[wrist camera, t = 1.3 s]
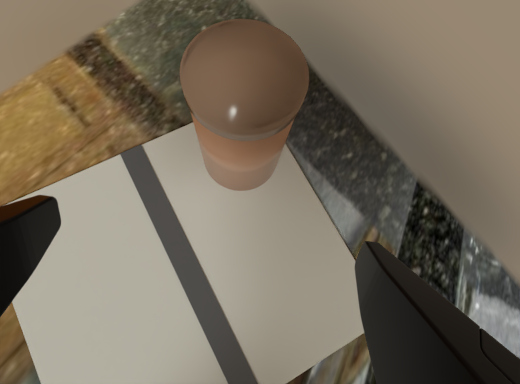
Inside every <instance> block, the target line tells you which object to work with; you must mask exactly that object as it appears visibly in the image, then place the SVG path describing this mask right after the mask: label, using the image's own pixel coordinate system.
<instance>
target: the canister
mask: <svg viewBox="0 0 520 384" xmlns="http://www.w3.org/2000/svg"><path fill="white" fill-rule="evenodd" d="M180 81H181V85H182V89H183V93H184V96H185V100H186V103H187V105H188V107H189V110H190V111H191V115H192V119H193V123H194V126H195V130H196V134H197V138H198V142H199V146H200V149H201V153H202V157H203V161H204V165H205V168H206V170H207V172H208V173H209V175H210V176H211V177H212V179H213V180H214V181H215V182H217V183H218V184H219V185H221V186H223V187H225V188H228V189H231V190H236V191H246V190H251V189H254V188H257V187H259V186H261V185H262V184H264V183H265V182H266V181H267V180H268V179H269V178H270V177H271V176H272V174H273V172H274V171H275V168H276V166H277V163H278V160H279V158H280V155H281V152H282V150H283V147H284V145H285V142H286V139H287V137H288V134H289V132H290V129H291V126H292V124H293V121H294V119H295V117H296V116H297V114H298V112H299V111H300V109H301V106H302V104H303V101H304V99H305V96H306V93H307V90H308V85H309V70H308V65H307V62H306V59H305V57H304V55H303V53H302V51H301V49H300V48H299V46H298V45H297V44H296V43H295V42H294V41H293V40H292V38H291V37H289V36H288V35H287V34H286V33H284V32H283V31H281V30H280V29H278V28H276V27H274V26H272V25H270V24H267V23H265V22H261V21H257V20H251V19H232V20H227V21H222V22H219V23H216V24H214V25H212V26H209V27H208V28H206V29H204V30H203V31H201V32H200V33H199V34H198V35H197V36H196V37H195V38H194V39H193V40H192V41H191V42H190V44H189V45H188V46H187V48H186V50H185V52H184V54H183V57H182V60H181V65H180Z"/></svg>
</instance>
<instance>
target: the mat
mask: <svg viewBox="0 0 520 384" xmlns="http://www.w3.org/2000/svg"><path fill="white" fill-rule="evenodd" d="M37 195H46V196H53V197H55V198H56V199H57V202H58V206H59V212H60V217H61V226H60V229H59V231H58V232H57V234H56V236H55V237H54V239H53V241H52V242H51V244H50V246H49V247H48V249H47V251H46V253H45V254H44V256H43V258H42V259H41V261H40V263H39V264H38V266H37V268H36V269H35V271H34V272H33V274H32V275H31V276H30V278H29V279H28V281H27V282H26V283H25V285H24V286H23V287H22V289H21V290H20V291H19V293H18V294H17V295H16V297H15V298H14V299H13V301H12V303H13V306H14V308H15V311H16V314H17V317H18V320H19V323H20V325H21V328H22V331H23V334H24V337H25V339H26V342H27V345H28V348H29V351H30V354H31V356H32V359H33V362H34V365H35V368H36V370H37V373H38V376H39V379H40V382H41V384H286V383H288V382H289V381H291V380H292V379H294V378H295V377H297V376H298V375H300V374H302V373H303V372H305V371H306V370H308V369H309V368H311V367H312V366H314V365H315V364H317V363H318V362H320V361H321V360H323V359H325V358H326V357H328V356H329V355H331V354H332V353H334V352H335V351H337V350H338V349H340V348H341V347H343V346H344V345H346V344H348V343H349V342H351V341H352V340H354V339H355V338H357V337H358V336H360V335H361V334H363V333H364V329H363V325H362V320H361V316H360V309H359V301H358V293H357V285H356V276H355V262H356V261H355V260H354V258H353V256H352V255H351V253H350V251H349V250H348V248H347V246H346V245H345V243H344V241H343V239H342V238H341V236H340V234H339V233H338V231H337V229H336V228H335V226H334V224H333V223H332V221H331V219H330V218H329V216H328V214H327V213H326V211H325V209H324V208H323V206H322V204H321V202H320V201H319V199H318V197H317V196H316V194H315V192H314V191H313V189H312V187H311V186H310V184H309V182H308V181H307V179H306V177H305V176H304V174H303V172H302V171H301V169H300V167H299V165H298V164H297V162H296V160H295V159H294V157H293V155H292V154H291V152H290V150H289V149H288V147H287V145H286V144H285V145H284V147H283V150H282V152H281V155H280V158H279V160H278V163H277V166H276V168H275V171H274V172H273V174H272V176H271V177H270V178H269V179H268V180H267V181H266V182H265V183H264V184H262V185H261V186H259V187H257V188H254V189H251V190H246V191H236V190H231V189H228V188H225V187H223V186H221V185H219V184H218V183H217V182H215V181H214V180H213V179H212V177H211V176H210V175H209V173H208V172H207V170H206V168H205V165H204V161H203V157H202V153H201V149H200V146H199V142H198V138H197V134H196V130H195V126H194V123H190V124H188V125H186V126H184V127H181V128H179V129H177V130H174V131H172V132H170V133H168V134H165V135H163V136H161V137H158V138H156V139H154V140H152V141H149V142H147V143H145V144H142V145H139V146H136V147H134V148H132V149H129V150H127V151H125V152H123V153H120V155H117V156H115V157H113V158H111V159H108V160H106V161H104V162H101V163H99V164H97V165H95V166H92V167H90V168H88V169H85V170H83V171H81V172H79V173H76V174H74V175H72V176H70V177H67V178H65V179H63V180H60V181H58V182H56V183H54V184H51V185H49V186H47V187H44V188H42V189H40V190H38V191H35V192H33V193H31V194H28V195H26V196H24V197H22V198H19V199H17V200H15V201H13V202H10V203H14V202H17V201H20V200H23V199H27V198H30V197H33V196H37ZM10 203H8V204H10ZM6 205H7V204H6ZM3 206H4V205H3Z"/></svg>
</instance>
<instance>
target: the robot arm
mask: <svg viewBox="0 0 520 384" xmlns="http://www.w3.org/2000/svg"><path fill="white" fill-rule="evenodd" d="M60 226H61V217H60V212H59V206H58V202H57V199H56V198H55V197H53V196H46V195H37V196H33V197H30V198H27V199H23V200H20V201H17V202H14V203H10V204H7V205H4V206H1V207H0V317H1V315H2V314H3V313H4V311H5V310H6V309H7V307H8V306H9V305H10V303H11V302H12V301H13V299H14V298H15V297H16V295H17V294H18V293H19V291H20V290H21V289H22V287H23V286H24V285H25V283H26V282H27V281H28V279H29V278H30V276H31V275H32V274H33V272H34V271H35V269H36V268H37V266H38V264H39V263H40V261H41V259H42V258H43V256H44V254H45V253H46V251H47V249H48V247H49V246H50V244H51V242H52V241H53V239H54V237H55V236H56V234H57V232H58V231H59V229H60ZM355 276H356V285H357V293H358V301H359V309H360V316H361V320H362V325H363V329H364V333H365V337H366V341H367V346H368V350H369V354H370V358H371V362H372V366H373V370H374V375H375V379H376V383H377V384H520V359H519V358H518V357H516V356H515V355H514V354H513V353H511V352H510V351H509V350H508V349H507V348H505V347H504V346H503V345H502V344H500V343H499V342H498V341H497V340H495V339H494V338H493V337H492V336H491V335H489V334H488V333H487V332H486V331H485V330H483V329H480V327H479V326H478V325H477V324H476V323H475V322H474V321H472V320H471V319H470V318H469V317H468V316H466V315H465V314H464V313H463V312H461V311H460V310H459V309H458V308H457V307H455V306H454V305H453V304H452V303H451V302H449V301H448V300H447V299H446V298H445V297H443V296H442V295H441V294H440V293H439V292H437V291H436V290H435V289H434V288H432V287H431V286H430V285H429V284H428V283H426V282H425V281H424V280H423V279H422V278H420V277H419V276H418V275H417V274H416V273H414V272H413V271H412V270H411V269H409V268H408V267H407V266H406V265H405V264H403V263H402V262H401V261H400V260H399V259H397V258H396V257H395V256H394V255H393V254H391V253H390V252H389V251H388V250H387V249H385V248H384V247H383V246H382V245H380V244H379V243H376V242H369V241H366V242H364V243H363V244H362V246H361V249H360V251H359V254H358V257H357V259H356V262H355Z"/></svg>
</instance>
